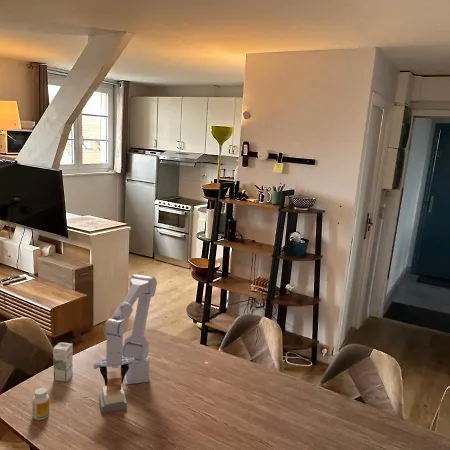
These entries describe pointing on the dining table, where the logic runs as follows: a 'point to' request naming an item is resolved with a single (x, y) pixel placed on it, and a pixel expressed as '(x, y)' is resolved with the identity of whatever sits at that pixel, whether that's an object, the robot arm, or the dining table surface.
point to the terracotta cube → (114, 380)
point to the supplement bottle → (40, 404)
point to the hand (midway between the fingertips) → (113, 383)
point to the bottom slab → (112, 405)
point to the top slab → (112, 395)
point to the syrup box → (63, 361)
